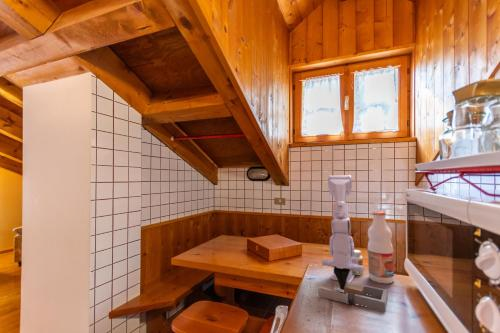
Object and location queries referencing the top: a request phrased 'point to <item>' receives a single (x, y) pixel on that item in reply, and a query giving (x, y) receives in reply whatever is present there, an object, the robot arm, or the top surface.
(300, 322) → the top surface
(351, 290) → the link block
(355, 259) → the supplement bottle
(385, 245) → the fruit juice
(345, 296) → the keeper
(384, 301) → the cradle
